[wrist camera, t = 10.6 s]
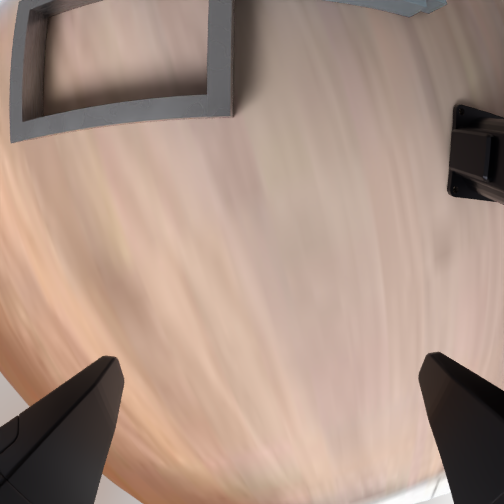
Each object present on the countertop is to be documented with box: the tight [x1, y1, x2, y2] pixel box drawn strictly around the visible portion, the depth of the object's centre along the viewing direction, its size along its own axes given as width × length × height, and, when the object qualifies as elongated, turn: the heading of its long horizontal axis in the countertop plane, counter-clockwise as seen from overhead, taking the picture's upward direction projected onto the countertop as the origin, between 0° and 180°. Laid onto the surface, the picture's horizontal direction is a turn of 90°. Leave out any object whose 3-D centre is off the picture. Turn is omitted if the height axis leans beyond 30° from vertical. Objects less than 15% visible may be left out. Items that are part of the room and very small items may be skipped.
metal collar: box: [10, 0, 234, 143], centre depth 15 cm, size 14×10×2 cm
